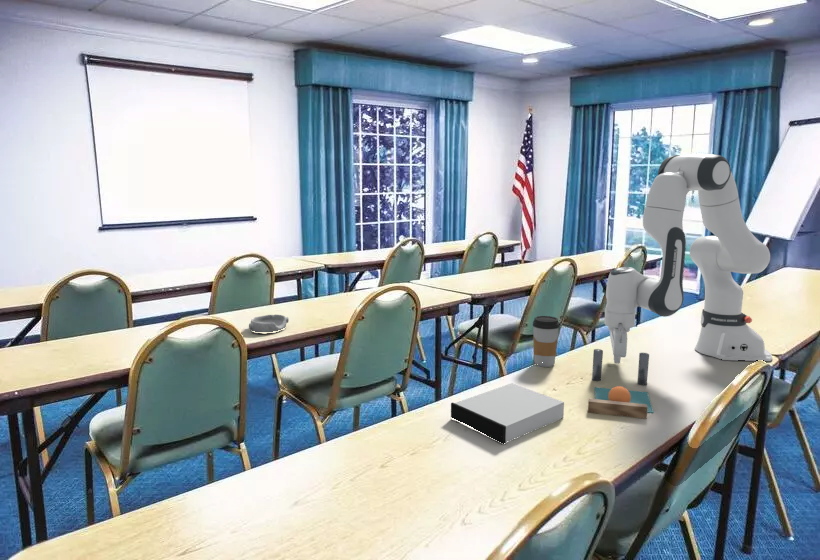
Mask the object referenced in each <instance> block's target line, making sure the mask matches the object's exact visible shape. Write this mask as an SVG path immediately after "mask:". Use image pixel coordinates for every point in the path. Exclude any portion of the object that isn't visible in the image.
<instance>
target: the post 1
mask: <svg viewBox="0 0 820 560" xmlns="http://www.w3.org/2000/svg"><path fill="white" fill-rule="evenodd" d="M592 356H593V357H592V375H591V380H592V381H595V382H600V381H602V373H603V372H602V371H603V357H604V350H602V349H601V348H600V349H599V348H595V349H593V355H592Z"/></svg>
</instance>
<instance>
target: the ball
mask: <svg viewBox="0 0 820 560" xmlns="http://www.w3.org/2000/svg"><path fill="white" fill-rule="evenodd" d="M610 389H611V390H610V392H609V395H608V398H609V401H619V402H629V403H630V400H631V395H630V393H629V391H628V389H627V388H626V387H624V386H620V385H617V386H614V387H612V388H610Z"/></svg>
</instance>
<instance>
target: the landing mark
mask: <svg viewBox="0 0 820 560" xmlns="http://www.w3.org/2000/svg"><path fill="white" fill-rule="evenodd" d="M611 389H612V388H608V387H607V388H606V387H597V386H595V387H594V396H595V397H594V399H599V400H609V398H608V395H609V392H610V390H611ZM627 390H628V389H627ZM628 391H629V393H630V395H631V400H630V403H639V404H647V407H648V408H647V414H648V413H649V414H654V409H653V406H652V402H651V400H650V396H649V393H648V391H640V390H639V391H638V390H628Z"/></svg>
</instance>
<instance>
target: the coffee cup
mask: <svg viewBox="0 0 820 560" xmlns="http://www.w3.org/2000/svg"><path fill="white" fill-rule="evenodd" d="M532 327H533V328H532V330H533V335H532V336H533V337H532V339H533V341H532V342H533V359H534V360H533V361H534V363H535V365H536V366H537V367H541V368H550V367H554V366H555V363H556V356H557V348H558V341H559V329H560V322H559V318H557V317H555V316H551V315H539V316H535V317H534V319H533V322H532ZM542 362H543V363H542ZM537 364H538V365H537Z"/></svg>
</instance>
